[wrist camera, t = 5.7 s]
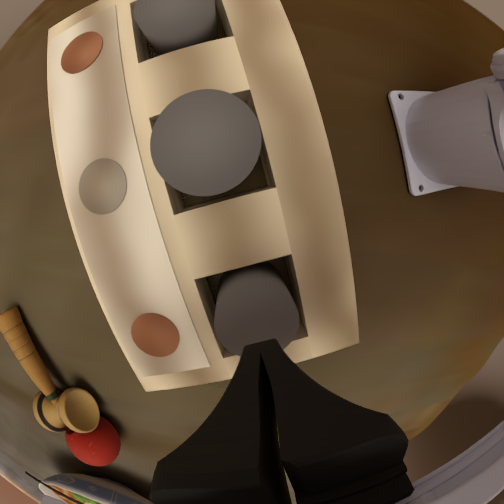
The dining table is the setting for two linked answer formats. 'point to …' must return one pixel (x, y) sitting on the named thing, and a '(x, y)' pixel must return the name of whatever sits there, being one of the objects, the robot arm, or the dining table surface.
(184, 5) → the button
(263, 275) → the button
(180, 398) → the dining table surface
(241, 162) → the button
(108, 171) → the button board
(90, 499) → the ramen bowl
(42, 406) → the kendama
